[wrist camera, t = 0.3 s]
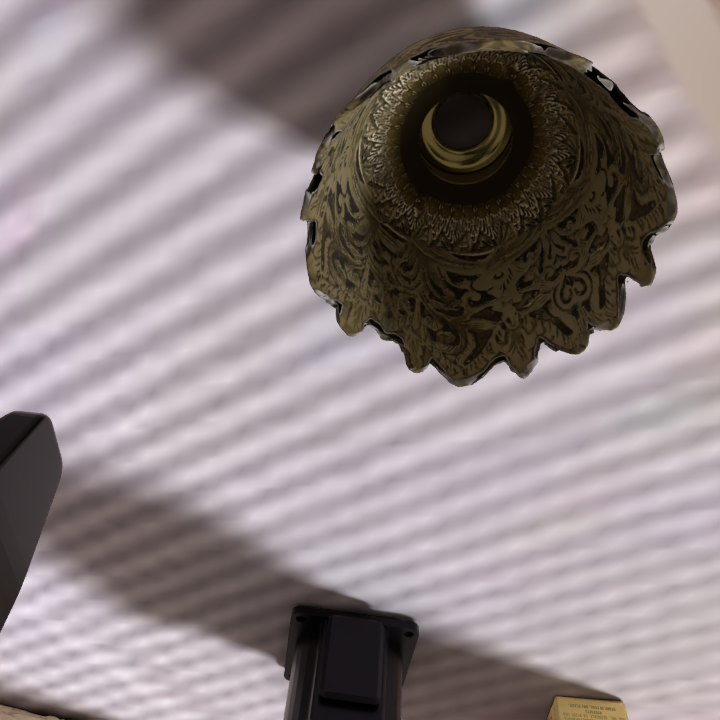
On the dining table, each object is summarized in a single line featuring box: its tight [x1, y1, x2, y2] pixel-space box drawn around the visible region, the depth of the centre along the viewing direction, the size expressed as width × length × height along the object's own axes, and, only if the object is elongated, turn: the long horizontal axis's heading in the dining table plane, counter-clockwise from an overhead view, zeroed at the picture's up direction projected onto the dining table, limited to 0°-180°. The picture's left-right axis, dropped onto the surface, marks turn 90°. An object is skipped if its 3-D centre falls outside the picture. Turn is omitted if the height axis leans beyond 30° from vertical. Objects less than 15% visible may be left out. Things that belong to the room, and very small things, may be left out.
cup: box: [300, 26, 677, 387], centre depth 17 cm, size 8×7×8 cm
